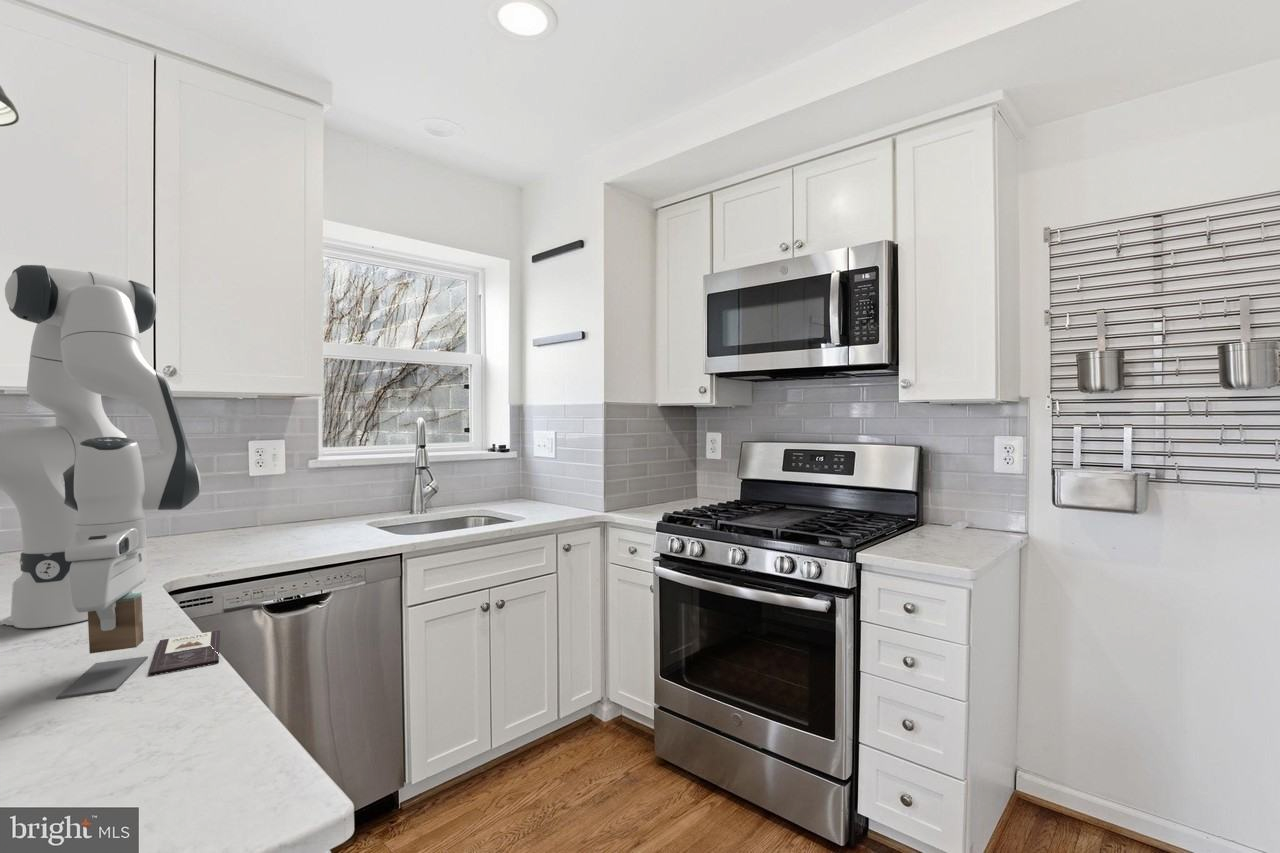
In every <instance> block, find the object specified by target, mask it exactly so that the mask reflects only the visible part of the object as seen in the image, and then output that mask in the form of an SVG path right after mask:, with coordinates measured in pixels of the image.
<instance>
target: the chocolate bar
mask: <svg viewBox="0 0 1280 853" xmlns="http://www.w3.org/2000/svg"><path fill="white" fill-rule="evenodd" d="M201 634H202V635H203V636H202V635H201ZM201 634H200V633H195V634H188V635H182V636H177V637H171V638H165V639H159V642H158V645H157V647H156V652H155V654H154V657H153V660H152V664H151V666H150V669H149V674H148V675H149V677H151V676H150V675H152V676H156V675H155V674H157V675H161V674H160V673H163V674H167V673H166V672H168V673H172V671H174V672H177V670H179V671H182V669H184V670H188V669H187V668H190V669H194V668H193V667H195V668H198V667H197V666H201V667H204V666H203V665H206V666H209V665H208V664H211V665H216V664H219V662H220V641H221V630H215V631H214V630H213V631H207V632H202V633H201ZM204 637H205V638H206V639H207V641H208V642H209V643H210V645H211V646H212V647H213V648H214V649H212V647H211V646H210V645H209V644H208V643H207V641H206V640H205V639H204ZM215 651H216V652H218V654H219V656H218V654H217V653H216V652H215Z"/></svg>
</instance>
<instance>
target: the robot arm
mask: <svg viewBox="0 0 1280 853" xmlns="http://www.w3.org/2000/svg"><path fill="white" fill-rule="evenodd" d="M4 296H5V301H6V303H7V304H8V309H9V311H10V312H11V313H12V314H14V316H16V317H17V318H19V319H20V320H24V321H27V322H29V323H34V324H36V326H35V330H34V332H33V336H32V341H31V346H30V353H29V354H30V355H29V362H28V371H27V372H28V373H27V379H26V380H27V382H26V393H28V395H29V397H30V399H32V400H33V401H34V402H35V403H37V404H38V405H40V406H42V407H44V408H46V409H49V410H51V411H52V412H53V413H54V416H55V425H53V426H50V425H49V426H15V427H9V428H3V429H0V489H1V490H2V491H3V492H4V493H5V494H6V495H7V496H8V497H9V498H10V500H11V501H12V502H13V504H14V506H15V508H16V509H17V512H18V515H19V519H20V526H21V534H22V548H23V549H22V552H21V553H20V559H19V565H20V572H22V573H21V575H20V576H19V577H18V578H16V580H14V581H13V582H12V589H11V590H12V591H11V604H10V606H11V608H10V616H8V617H5V618H3V619H2V624H6V625H5V626H12V625H13V627H15V628H18V629H38V628H39V629H40V628H48V627H57V626H64V625H69V624H74V623H78V622H84V621H88V612H90V611H96V612H97V614H98V617H99V619H100V623H101V630H102V631H108V630H113V629H114V628H116V627H117V626H118V616H116V614H115V607H116V601H117V600H118V599H120V598H121V597H123V596H124V595H126V594H131V593H132V592H133V590H135V589H136V588H137V587H139V586H141V585H142V584H143V583H145V582H146V581H147V575H148V568H147V567H148V566H147V565H148V564H147V556H146V555H147V554H146V548H145V547H146V546H147V545H148V539H147V537H148V536H147V515H146V512H145V511H155V510H158V511H178V510H179V511H181V510H182V509H184V508H185V507H187V506H188V505H190V504H192V502H193V501H194V500H196V498H197V497H198V496H199V495H200V490H201V486H202V485H201V481H202V480H201V475H200V471H199V469H198V467H197V464H196V463H195V461H194V457H193V455H192V453H191V450H190V448H189V445H188V441H187V437H186V434H185V431H184V427H183V425H182V421H181V418H180V415H179V411H178V408H177V405H176V402H175V400H174V396H173V394H172V393H173V392H172V390H171V388H170V385H169V383H168V380H167V378H166V377H165V375H164V374H163V372H161V371H159V370H157V369H154V368H153V367H151V365H150V364H149V363H148V362H147V360H146V359H145V357H144V356H143V352H142V347H141V337H140V336H141V335H140V334H143V333H144V332H146V331H148V330H149V329H151V328H152V326H153V324H154V322H155V320H156V318H157V313H158V305H157V299H156V294H155V293H154V292H153V291H152V289H151V288H150V286H147V285H145V284H142V283H140V282H136V281H134V280H130V279H129V280H125V279H121V278H117V277H114V276H112V275H111V276H110V275H106V274H103V273H96V272H91V271H87V272H86V271H82V270H81V271H80V270H72V269H65V268H56V267H55V268H54V267H46V266H45V265H40V264H23V265H20V266H19V267H16V268H15V269H13V271H12V273H11V275H10V276H9V277H8V279H7V281H6V282H5V286H4ZM102 396H104V397H109V398H111V399H116V400H120V401H122V402H126V403H129V404H131V405H133V406H136V407H138V408H140V409H142V410H143V411H144V412H146V413H147V414H148V416H149V417H150V420H151V422H152V426H153V429H154V432H155V437H156V440H157V443H158V446H159V449H160V453H156V454H153V455H152V454H147V455H141V450H140V447H139V444H138V442H137V441H136V440H134V439H131V438H128V437H127V435H126V434H125V433H124V432H123V431H122V430H120V429H118V428H117V427H116V426H115V425H114V424H113V423H112V422H111V421H110V419H109V417H108V416H107V414H106V411H105V409H104V406H103V402H102Z"/></svg>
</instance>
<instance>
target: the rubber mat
mask: <svg viewBox="0 0 1280 853" xmlns="http://www.w3.org/2000/svg"><path fill="white" fill-rule="evenodd" d="M148 658H149V656H148V655H147V656H139V657H131V658H123V659H115V660H108V661H101V662H100V661H99V662H95V663H94V664H92V665H91V666H90V667H89V668H88V669H87V670H85V671H84V672H83V673H82V674H81V675H80V676H79V677H78V678H76V679H74V681H73V682H72V683H70V684H69V685H68V686H67V687H65V689H63V690H62V691H61V692H60V693H59V694H57V695H56V697H55V699H56V700H57V699H59V700H60V699H65V698H72V697H78V696H85V695H92V694H93V695H94V694H99V693H107V692H114V691H117V690H118V689H119V688H120V687H121V686H123V684H124V683H125V682H126V681H127V680H128V679H129V678H130V677H131V676H132V675H133V674H134V673H135V672H136V671H137V669H138V668H139V667H141V666H142V665H143V664H144V663H145V662H146V660H148Z"/></svg>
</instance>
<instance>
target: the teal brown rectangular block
mask: <svg viewBox="0 0 1280 853" xmlns="http://www.w3.org/2000/svg"><path fill="white" fill-rule="evenodd" d="M142 599H143V596H142V592H133V593H131V594H126V595H124V596H123V597H121V598H120V599H118V600H117V601H116V607H115V614H116V616H118V626H117V627H116V628H114V629H113V630H108V631H102V630H101V623H100V619H99V617H98V614H97V612H96V611H90V612H88V620H87V623H88V624H87V625H88V626H87V627H88V649H89V654H91V655H92V654H96V653H105V652H112V651H113V652H114V651H120V650H126V649H135V648H136V649H137V648H138V647H139V646H140V645H141V644H142V643H143V642H144V623H143V622H144V620H143V617H144V616H143V600H142Z"/></svg>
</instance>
